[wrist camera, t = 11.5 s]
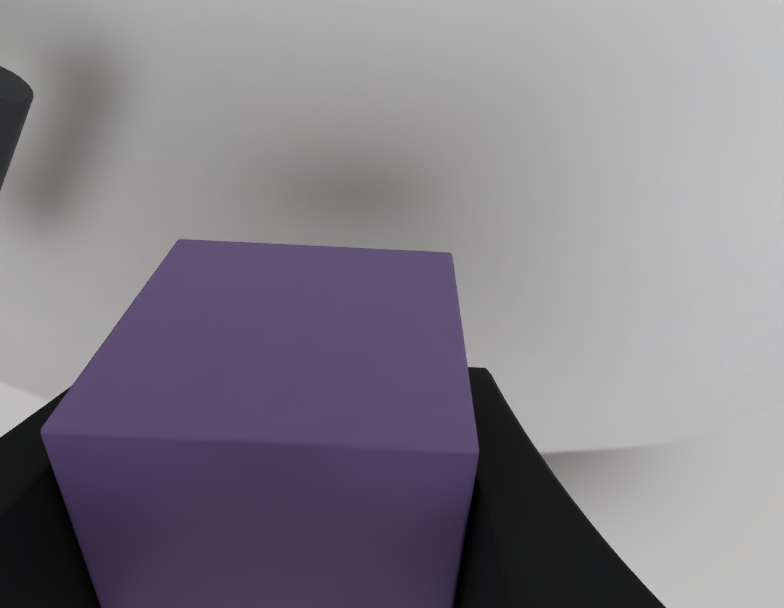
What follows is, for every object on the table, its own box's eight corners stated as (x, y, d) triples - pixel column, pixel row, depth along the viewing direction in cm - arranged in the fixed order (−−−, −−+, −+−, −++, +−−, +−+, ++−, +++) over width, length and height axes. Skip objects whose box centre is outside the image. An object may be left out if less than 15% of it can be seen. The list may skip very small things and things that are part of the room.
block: (430, 449, 12) (441, 684, 8) (208, 439, 12) (120, 669, 8) (452, 251, 10) (480, 452, 6) (177, 237, 10) (36, 429, 6)
